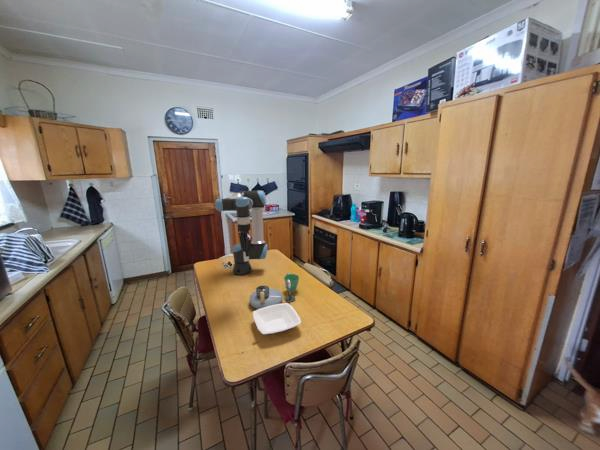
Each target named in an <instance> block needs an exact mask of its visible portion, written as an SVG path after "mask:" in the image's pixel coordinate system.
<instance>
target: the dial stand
mask: <svg viewBox="0 0 600 450" xmlns="http://www.w3.org/2000/svg"><path fill="white" fill-rule="evenodd" d="M285 286H287V287H288V288H289V291H288V296H285V297H284V300H285V302H286V303H288V304H290V303H292V302H295V301H296V298H295V297H294V296H293V295H292V293H291V282H290V280H289V279H288V280H286V284H285ZM287 287H286V288H287Z"/></svg>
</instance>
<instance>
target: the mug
mask: <svg viewBox="0 0 600 450" xmlns="http://www.w3.org/2000/svg"><path fill="white" fill-rule="evenodd" d="M283 279H284V284H285V286H286V280H288V279H289V280H290V282H291V292H292V293H295V292H296V290H297V287H298V284H299V280H300V278H299V275H297V274H296V273H295V274H293V273H290V272H286V275H285V276H284V278H283ZM286 289H287V291H288V292H289V288H288V287H287V286H286Z"/></svg>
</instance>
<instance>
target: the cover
mask: <svg viewBox="0 0 600 450" xmlns="http://www.w3.org/2000/svg"><path fill="white" fill-rule="evenodd" d="M269 288H270V287H269V286H268V285H259V286H257V287H256V288H255V291H256V297H257V298H258V299H260V292H264V298H265V299H267V298H268V297H269V296H270V295H269Z"/></svg>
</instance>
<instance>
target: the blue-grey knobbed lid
mask: <svg viewBox="0 0 600 450" xmlns="http://www.w3.org/2000/svg"><path fill="white" fill-rule="evenodd" d="M269 295H270V296H269V297H268V298H267V299H265V298H264V292H260V299H258V298H257V297H256V290H255V291H253V292H252V293H251V294H250V295H249V303H250V306H251V307H252V308H255V309H256V310H258V309H260V308H264V307H267V306H271V305H276V304H282V303H283V293H282V292H281V291H280V290H278V289H275V288H271V287H269Z"/></svg>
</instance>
